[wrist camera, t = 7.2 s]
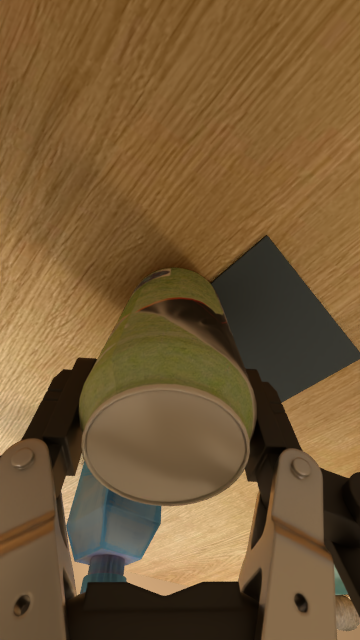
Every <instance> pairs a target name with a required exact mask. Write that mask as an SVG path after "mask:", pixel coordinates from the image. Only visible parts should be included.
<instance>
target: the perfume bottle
mask: <svg viewBox="0 0 360 640" xmlns="http://www.w3.org/2000/svg"><path fill="white" fill-rule="evenodd" d="M160 524H161V506H157V505H149V504H144V503H140V502H136V501H132V500H130V499H127V498H124V497H122V496H120V495H118V494H116V493H114V492H112V491H111V490H109V489H108V488H106V487H105V486H104V485H102V484H101V483H100V482H99V481H98V480H97V479H96V478H95V477H94V476H93V474H92V473H91V472H90V470H89V469H88V467H87V465H86V463H85V461H84V465H83V468H82V472H81V476H80V479H79V483H78V486H77V490H76V493H75V497H74V500H73V504H72V507H71V511H70V515H69V518H68V522H67V525H66V528H67V532H68V536H69V540H70V545H71V549H72V553H73V557H74V561H75V562H79V563H84V564H88V565H90V566H89V571H88V575H86V576H85V577H84V578H83V582H82V587H81V592H80V594H82V593H84V592H86V588H87V583H88V582H126V578H125V577H124V576H123V574H124V566H125V565H128V564H130V563H133V562H135V561H138V560H140V559H142V557H143V555H144V553H145V551H146V549H147V548H148V546H149V544H150V542H151V540H152V538H153V537H154V535H155V533H156V531H157V529H158V527H159V526H160Z"/></svg>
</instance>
